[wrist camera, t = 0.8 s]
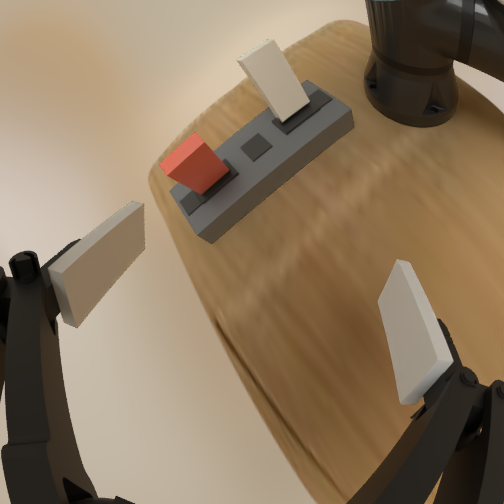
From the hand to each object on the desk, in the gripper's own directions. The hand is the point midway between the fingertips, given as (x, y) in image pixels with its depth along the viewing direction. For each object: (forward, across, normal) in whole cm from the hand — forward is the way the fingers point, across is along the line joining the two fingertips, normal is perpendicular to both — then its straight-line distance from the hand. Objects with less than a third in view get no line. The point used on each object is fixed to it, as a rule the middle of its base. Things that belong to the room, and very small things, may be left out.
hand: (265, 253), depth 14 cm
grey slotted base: (+29, -3, -2) cm, 29 cm away
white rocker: (+28, 0, +6) cm, 28 cm away
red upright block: (+23, -9, -4) cm, 25 cm away
